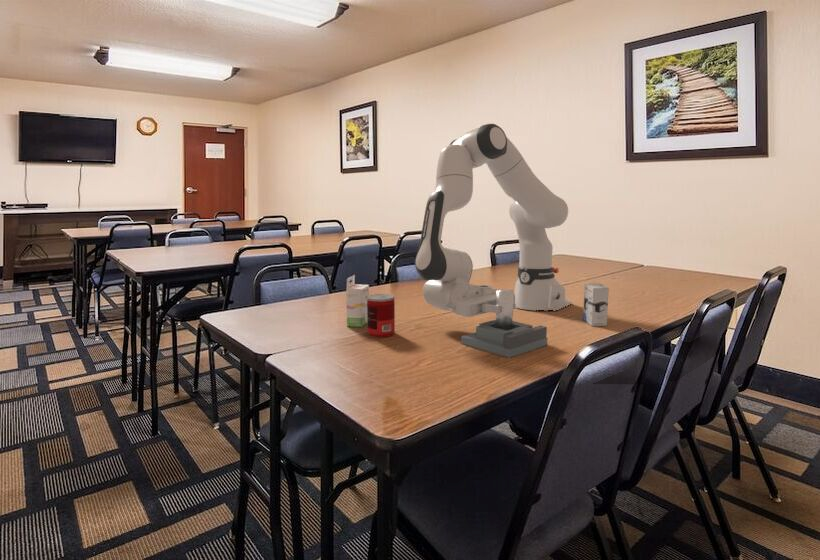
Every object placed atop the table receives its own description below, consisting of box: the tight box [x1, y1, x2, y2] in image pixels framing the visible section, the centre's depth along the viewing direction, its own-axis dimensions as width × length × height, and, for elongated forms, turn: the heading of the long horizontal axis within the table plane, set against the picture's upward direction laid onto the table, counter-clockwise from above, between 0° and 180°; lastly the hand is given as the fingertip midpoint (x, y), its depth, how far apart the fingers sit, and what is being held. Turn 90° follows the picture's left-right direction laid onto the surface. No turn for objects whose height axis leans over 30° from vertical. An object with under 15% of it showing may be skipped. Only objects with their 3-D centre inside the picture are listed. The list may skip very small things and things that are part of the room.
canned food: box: [367, 293, 396, 338], centre depth 146 cm, size 8×8×11 cm
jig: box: [460, 319, 548, 358], centre depth 136 cm, size 16×16×5 cm
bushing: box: [495, 288, 515, 331], centre depth 135 cm, size 4×4×12 cm
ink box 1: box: [345, 274, 370, 328], centre depth 157 cm, size 9×5×15 cm, turn 168°
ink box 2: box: [582, 282, 610, 327], centre depth 157 cm, size 8×5×12 cm, turn 178°
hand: (507, 308), depth 134 cm, fingers closed on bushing, 4 cm apart
